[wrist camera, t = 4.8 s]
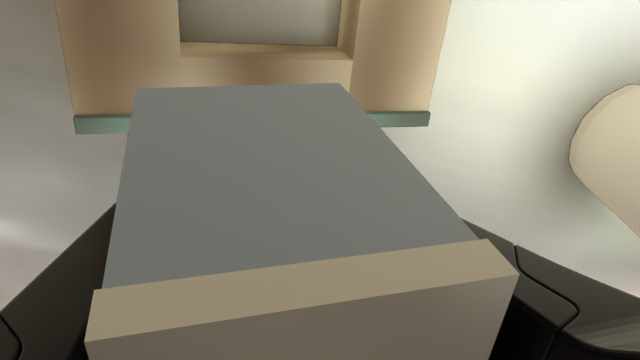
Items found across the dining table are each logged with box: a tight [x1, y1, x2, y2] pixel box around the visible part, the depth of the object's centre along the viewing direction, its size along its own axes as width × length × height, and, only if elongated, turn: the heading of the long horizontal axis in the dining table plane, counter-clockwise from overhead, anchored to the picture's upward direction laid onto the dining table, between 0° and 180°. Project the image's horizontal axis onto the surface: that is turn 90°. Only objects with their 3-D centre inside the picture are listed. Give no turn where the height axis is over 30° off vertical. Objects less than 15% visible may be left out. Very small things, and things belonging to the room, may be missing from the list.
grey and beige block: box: [84, 83, 520, 360], centre depth 8 cm, size 4×4×6 cm
